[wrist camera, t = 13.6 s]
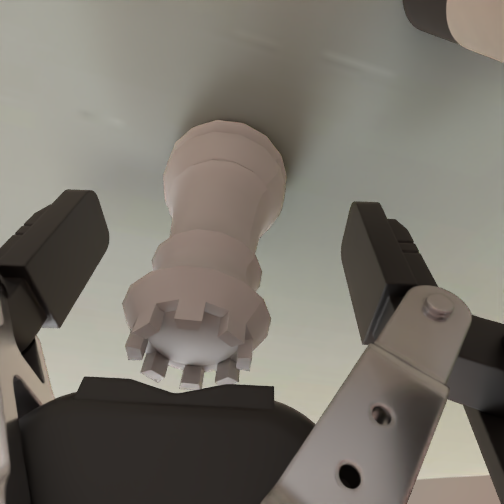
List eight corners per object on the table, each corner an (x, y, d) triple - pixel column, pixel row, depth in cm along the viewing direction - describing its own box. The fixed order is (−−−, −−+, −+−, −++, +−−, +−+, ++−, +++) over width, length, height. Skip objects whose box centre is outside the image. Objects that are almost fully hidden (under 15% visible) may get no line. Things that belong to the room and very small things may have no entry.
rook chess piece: (252, 90, 11) (229, 240, 5) (304, 197, 13) (333, 388, 7) (145, 150, 12) (20, 324, 6) (210, 236, 15) (167, 423, 9)
